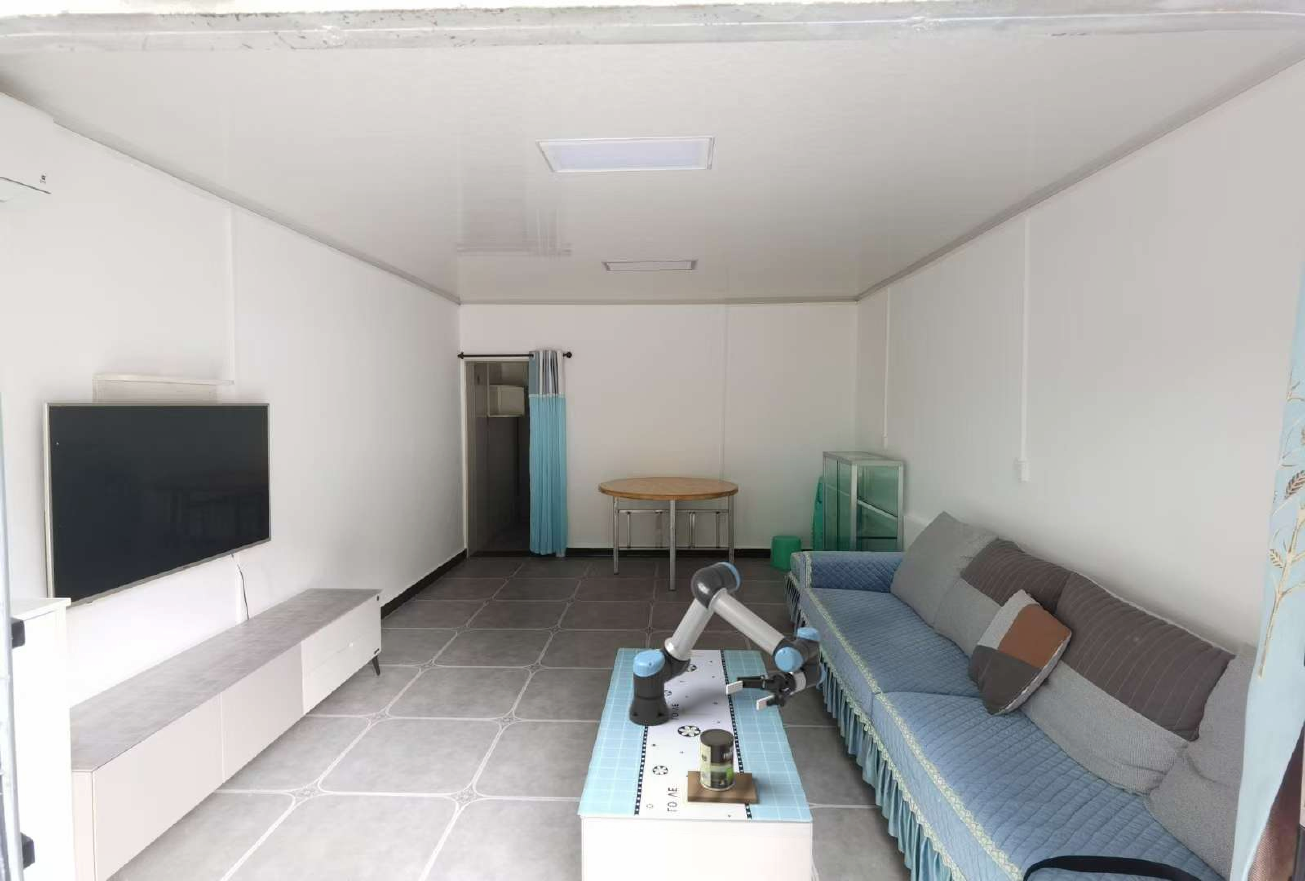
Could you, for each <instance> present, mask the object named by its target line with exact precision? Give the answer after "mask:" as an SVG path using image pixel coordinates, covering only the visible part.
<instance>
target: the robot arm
mask: <svg viewBox="0 0 1305 881" xmlns="http://www.w3.org/2000/svg"><path fill="white" fill-rule="evenodd" d="M740 582H741V577H740V575H739V572H738V570H737V568H736V567H735V566H734V565H732V564H731V563H729V562H722V561H721V562H717V563H715V564H712V565H710V566H707V567H703V568H701V569H699V570H697V571H696V572H695V573H694V574H693V575H692V578H691V582H690V589H691V592H692V595H693V597H694V599H693V602H692V603H691V604H690V606H689V608H688V610H687V611H686V613H685V615H684V616H683V618H682V620H681V622H680V623H679V625H678V627H677V628H676V630H675V631H674V633H673V635H672V637H668V638H666V639H665V641H664V643H663V644H662V646H661V647H660V649H659V650H656V649H649V650H644V651H642V652H639V653H638V654H636V656H634V659H633V666H632V671H633V673H632V675H633V677H632V678H633V697H632V700H631V703H630V707H629V709H628V719H629V721H631V722H633V723H634V724H636V725H640V726H657V725H658V726H659V725H661V724H664V723H666V722H668V720H669V719H670V709H669V706H668V703H667V700H666V697H665V684H666V683H669V682H670V681H672V680H673V679H675V678H677V677H679V676H682V675H683V674H685V673H686V672H687V671H688V669H689V668H690V666H691V663H692V659H691V658H692V655H693V653H692V649H693V647H694V645H695V644H696V642H697V640H698V639H699V637H700V635H702V632H703V631H704V629H705V627H706V626H707V624H708V622H709V621H710V619H711V617H712V616H713V614H714V613H717V615H719V616H720V617H721V618H723V619H724V620H725V621H727V622H728V623H729V624H731V626H733V627H734V628H735V629H737V630H738V631H740V633H742V634H744V635H745V636H746V637H748V638H749V639H750V640H752V642H753V643H755V644H757V645H758V646H759V647H760V648H761V649H763V650H764V651H765V652H767V653H768V654H769V655H770V656H772V657H773V659H774V658H775V664H776V666H777V667H778V669H779V670H780V671H777V672H775V673H774V674H773V676H772V677H769V678H766V675H765V674H759V675H751V676H737V677H736V681H735V682H732V683H729V684H726V686H725V694H726V695H729V694H733V693H736V692H739V691H742V690H743V689H756V690H757V689H759V690H760V691H766V692H769V693H771V695H769V696H766V697H764V698H761V699H758V700H756V710H757V711H760V710H763V709H765V708H768V707H773V706H778V705H779V707H781V708H784V707H785V706H786V705H787V703H788V701H789V700H790V699H791V698H792V697H794V693H797V692H799V691H803V690H805V689H808V688H811V687H815V686H818V685H819V684H821V683H823V682H824V681H825V679H826V678H827V671H826V669H825V665H824V664H823V663H822V662H820V654H821V653H820V650H821V649H820V648H821V635H820V634H821V633H820V631H819V630H818V629H816V628H813V627H807V626H806V627H805V626H804V627H800V628H798V629H797V632H796V639H795V640H793V641H791V640H790V639H789V638H787V637H786V636H784V635H783V634H782V633H780V632H779V631H778V630H776V629H775V628H774V627H773V626H771V625H770V624H768V623H767V621H764V620H763V619H762V618H761V617H759V616H758V615H756V614H755V613H754V612H753V611H751V610H750V609H749V608H747V607H746V606H745V605H744V604H742V603H741V602H740V601H738V600H737V599H736V598H734V597H733V596H731V595H730V594H733V593H735V592H736V591H737V589H738V588H739V586H740ZM772 694H774V695H772Z"/></svg>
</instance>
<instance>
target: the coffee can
mask: <svg viewBox="0 0 1305 881" xmlns="http://www.w3.org/2000/svg"><path fill="white" fill-rule="evenodd" d="M699 740H700V771H701V779H700V782H701V784H702V786H703V787H705V788H707V789H709V790H713V791H725V790H728V789H730V788H731V787H732V786H733V785H734V772H735V771H734V768H735V764H734V762H735V761H734V758H735V757H734V756H735V755H734V754H735V753H734V752H735V736H734V734H733V732H731V731H729V730H726V729H722V728H709V729H706V730H704V731H702V732H701V733H700V735H699Z"/></svg>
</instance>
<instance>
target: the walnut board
mask: <svg viewBox="0 0 1305 881" xmlns="http://www.w3.org/2000/svg"><path fill="white" fill-rule="evenodd" d="M700 779H701V770H687V792H686V793H687V796H686V797H687V798H686V799H687V802H692V803H693V802H694V803H695V802H696V803H718V804H719V803H720V804H721V803H723V804H726V803H727V804H744V805H745V804H750V805H757V794H756V789H755V783H754V777H753V773H752V772H738V771H737V772H735V771H734V785H733V786H732V787H731V788H730V789H728V790H725V791H713V790H709V789H707V788H705V787H703V786H702V784H701V782H700Z"/></svg>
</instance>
